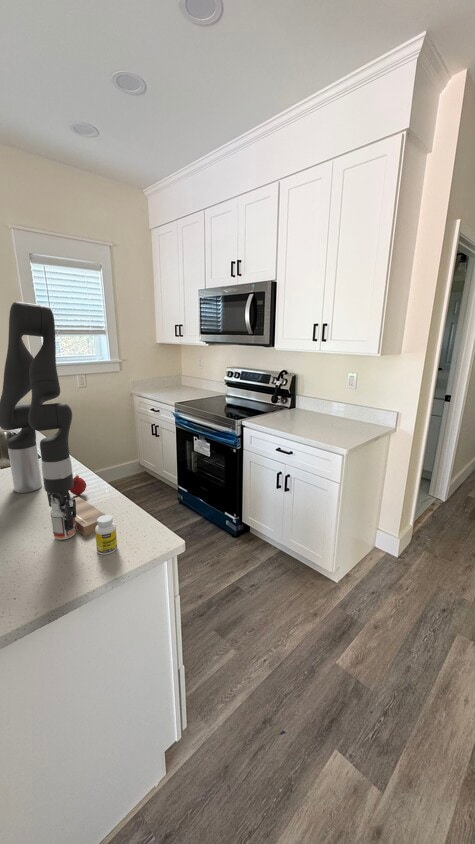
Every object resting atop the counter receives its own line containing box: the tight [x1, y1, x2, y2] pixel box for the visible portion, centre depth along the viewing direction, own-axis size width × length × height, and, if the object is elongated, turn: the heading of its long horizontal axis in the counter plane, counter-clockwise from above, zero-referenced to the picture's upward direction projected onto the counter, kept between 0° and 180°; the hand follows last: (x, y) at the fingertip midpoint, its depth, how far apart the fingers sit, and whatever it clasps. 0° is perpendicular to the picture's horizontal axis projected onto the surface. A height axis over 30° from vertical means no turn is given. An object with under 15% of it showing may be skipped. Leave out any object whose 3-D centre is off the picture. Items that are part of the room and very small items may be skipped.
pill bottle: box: [50, 500, 77, 540], centre depth 103 cm, size 6×6×11 cm
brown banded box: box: [71, 496, 106, 537], centre depth 114 cm, size 20×8×3 cm, turn 49°
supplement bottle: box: [94, 514, 118, 556], centre depth 98 cm, size 5×5×10 cm
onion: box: [69, 474, 87, 497], centre depth 129 cm, size 6×6×8 cm
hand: (64, 525), depth 104 cm, fingers closed on pill bottle, 6 cm apart
